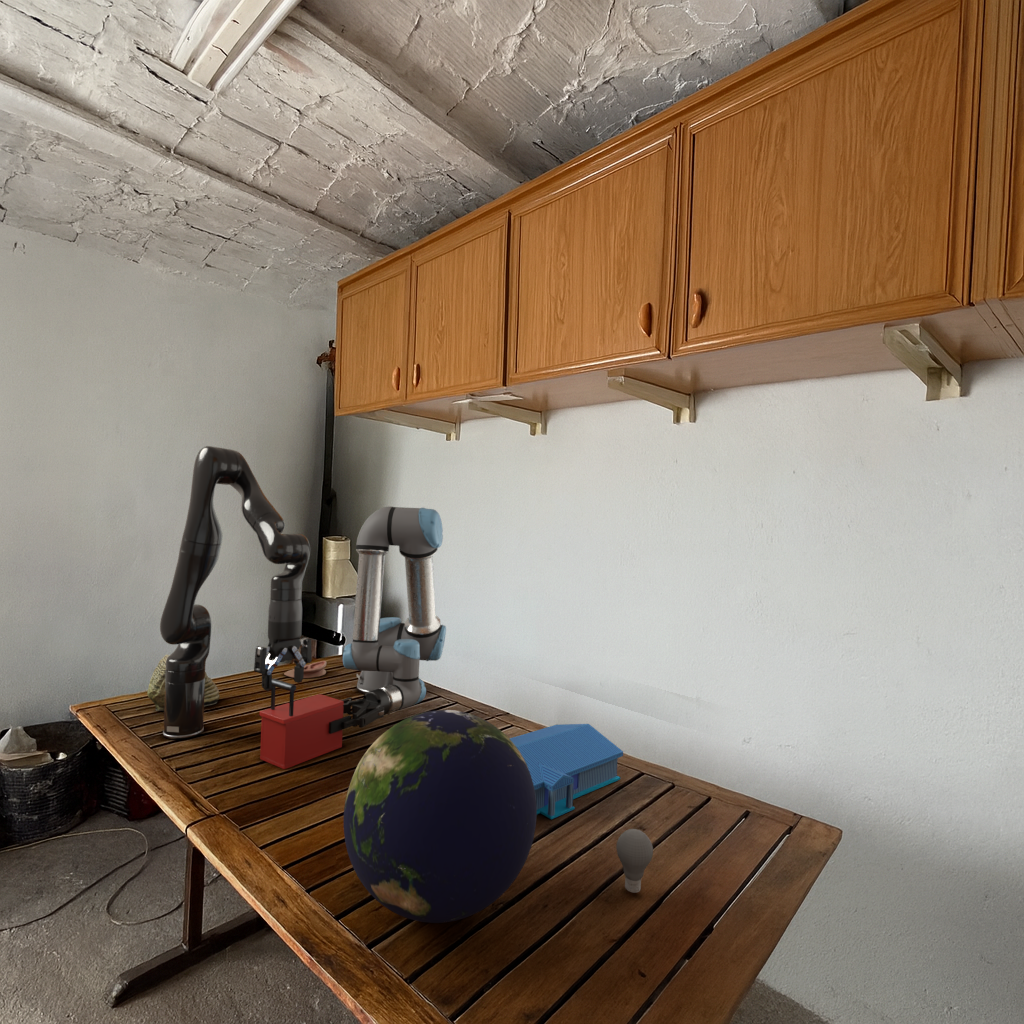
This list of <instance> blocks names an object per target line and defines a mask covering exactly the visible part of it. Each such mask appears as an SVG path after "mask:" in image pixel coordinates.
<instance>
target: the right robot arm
mask: <svg viewBox="0 0 1024 1024" xmlns="http://www.w3.org/2000/svg"><path fill="white" fill-rule="evenodd" d="M443 529H444V528H443V523H442V519H441V515H440V513H439V512H438V511H437V510H436V509H434V508H433V509H432V508H426V507H401V506H383V507H381V508H378V509H376V510H375V511H373V512H372V513H371V514H370V515H369V516H368V517H367V519H365V521H364V522H363V524H362V526H361V528H360V530H359V532H358V535H357V538H356V546H355V552H356V553H357V554H358V565H357V577H356V578H357V579H356V588H355V590H356V591H355V602H354V616H353V629H352V642H351V643H348V644H346V645H344V649H343V653H342V664H343V665H342V666H343V667H344V668H345V669H346V670H351V671H358V672H360V674H358V673H356V678H358V680H357V683H356V691H357V692H358V693H360V694H363V697H362V698H357V699H354V700H353V697H351V696H349V697H346V698H343V699H340V700H341V701H344V704H343V715H345V714H347V716H343V718H340V719H337V720H334V721H332V722H329V733H330V734H332V733H334V732H337V731H340V730H343V731H344V730H346V729H348V728H351V727H352V728H354V727H358V728H359V729H363V728H364V727H367V726H368V725H370V724H371V723H373V722H375V721H377V720H378V719H382V718H384V717H385V716H386V715H387V716H389V715H390V714H391V713H394V712H397V711H400V710H402V709H406V708H410V707H413V706H415V705H418V704H419V703H421V702H422V701H423V700H424V699H425V698H426V694H427V687H426V685H425V682H424V681H423V679H422V678H420V677H419V676H420V662H421V661H426V662H430V661H439V660H441V657H442V655H443V651H444V646H445V640H446V634H447V626H446V625H444V624H442V622H441V619H440V618H439V616H437V615H436V595H435V594H436V593H435V574H434V573H435V572H434V555H435V554H436V553H438V549H439V548H440V547H442V544H443V539H444V535H443V531H444V530H443ZM390 546H393V547H395V546H396V547H398V550H399V551H398V552H399V554H400V555H401V556H402V557H404V566H405V579H406V595H407V612H408V617H407V618H406V619H405V621H404V622H402V619H401V617H395V616H393V617H390V616H389V617H381V612H382V611H381V610H382V601H383V598H382V597H383V587H384V571H385V559H386V556H387V554H389V550H390Z"/></svg>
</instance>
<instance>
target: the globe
mask: <svg viewBox="0 0 1024 1024" xmlns="http://www.w3.org/2000/svg"><path fill="white" fill-rule="evenodd" d="M537 817H538V814H537V806H536V795H535V790H534V785H533V781H532V778H531V774H530V772H529V769H528V766H527V764H526V762H525V760H524V758H523V756H522V755H521V753H520V751H519V750H518V749H517V747H516V746H515V745H514V744H513V742H512V741H511V740H510V738H509V737H508V735H507V734H505V732H503V731H502V730H501V729H500V728H498V727H497V726H495V725H494V724H492V723H491V722H489V721H488V720H485V719H483V718H482V717H479V716H477V715H475V714H472V713H468V712H464V711H460V710H455V709H438V710H430V711H425V712H422V713H421V712H420V713H418V714H414V715H412V716H409V717H407V718H405V719H403V720H401V721H399V722H397V723H395V724H394V725H393V726H391V727H390V728H388V729H387V730H386V731H385V732H383V733H382V734H381V735H380V736H378V738H377V739H376V740H375V741H374V742H373V743H372V744H371V745H370V746H369V747H368V749H367V750H366V751H365V753H364V754H363V756H362V757H361V758H360V760H359V762H358V764H357V765H356V768H355V770H354V773H353V775H352V777H351V778H350V782H349V784H348V789H347V791H346V797H345V800H344V809H343V835H344V843H345V847H346V851H347V855H348V858H349V861H350V863H351V866H352V868H353V870H354V873H355V874H356V876H357V878H358V880H359V881H360V882H361V884H362V885H363V887H364V888H365V889H366V890H367V892H368V893H369V894H370V895H371V896H372V897H373V899H375V901H377V903H379V904H381V905H382V906H383V907H384V908H386V909H387V910H389V911H391V912H392V913H394V914H396V915H398V916H400V917H403V918H406V919H408V920H411V921H416V922H419V923H427V924H428V923H429V924H444V923H451V922H456V921H459V920H463V919H467V918H469V917H471V916H473V915H476V914H478V913H480V912H482V911H483V910H485V909H487V908H488V907H489V906H490V905H492V904H494V903H495V902H496V901H497V900H498V899H499V898H501V896H503V895H504V893H506V891H508V889H510V887H511V886H512V885H513V883H514V882H515V881H516V879H517V878H518V876H519V875H520V873H521V871H522V869H523V867H524V866H525V864H526V862H527V860H528V857H529V854H530V852H531V849H532V845H533V843H534V838H535V832H536V827H537Z"/></svg>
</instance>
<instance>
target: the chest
mask: <svg viewBox="0 0 1024 1024" xmlns="http://www.w3.org/2000/svg"><path fill="white" fill-rule="evenodd" d="M343 717H344V714H343V705H342V706H339V707H336V708H333V709H330V710H327V711H324V712H320V713H317V714H314V715H311V716H308V717H305V718H302V719H299V720H296V721H292V722H289V723H286V724H282V723H279V722H276V721H273V720H271V719H268V718H265V717H262V716H261V725H260V749H259V751H260V753H259V754H260V755H259V759H260V760H261V761H263V762H265V763H268V764H270V765H273V766H275V767H278V768H280V769H282V770H287V769H290V768H293V767H294V766H296V765H300V764H302V763H305V762H307V761H309V760H312V759H315V758H318V757H320V756H322V755H325V754H327V753H330V752H333V751H335V750H337V749H340V748H342V747H343V731H344V729H343V730H340V731H337V732H334V733H332V734H330V733H329V722H332V721H334V720H337V719H340V718H343Z"/></svg>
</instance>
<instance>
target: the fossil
mask: <svg viewBox="0 0 1024 1024" xmlns="http://www.w3.org/2000/svg"><path fill="white" fill-rule="evenodd" d="M170 655H171V654H165V655H164V656H163V657H162V658H161V659H160V660H159V662H158V663H157V666H156V667H155V669H154V670H153V672H152V675H151V677H150V680H149V684H148V688H147V697H148V699H149V700H150V701H152V703H153V704H154V706H155V711H158V712H159V711H162V712H163V711H164V705H165V674H166V660H167V658H168V657H169V656H170ZM220 698H221V696H220V690H219V688H218V686H217V685H216V683H215V682H214V681H213V679H212V678H211V677H209V675H208V674H207V672H206V671H205V693H204V707H207V706H213V705H215V704H217V703H218V701H219V699H220Z"/></svg>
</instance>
